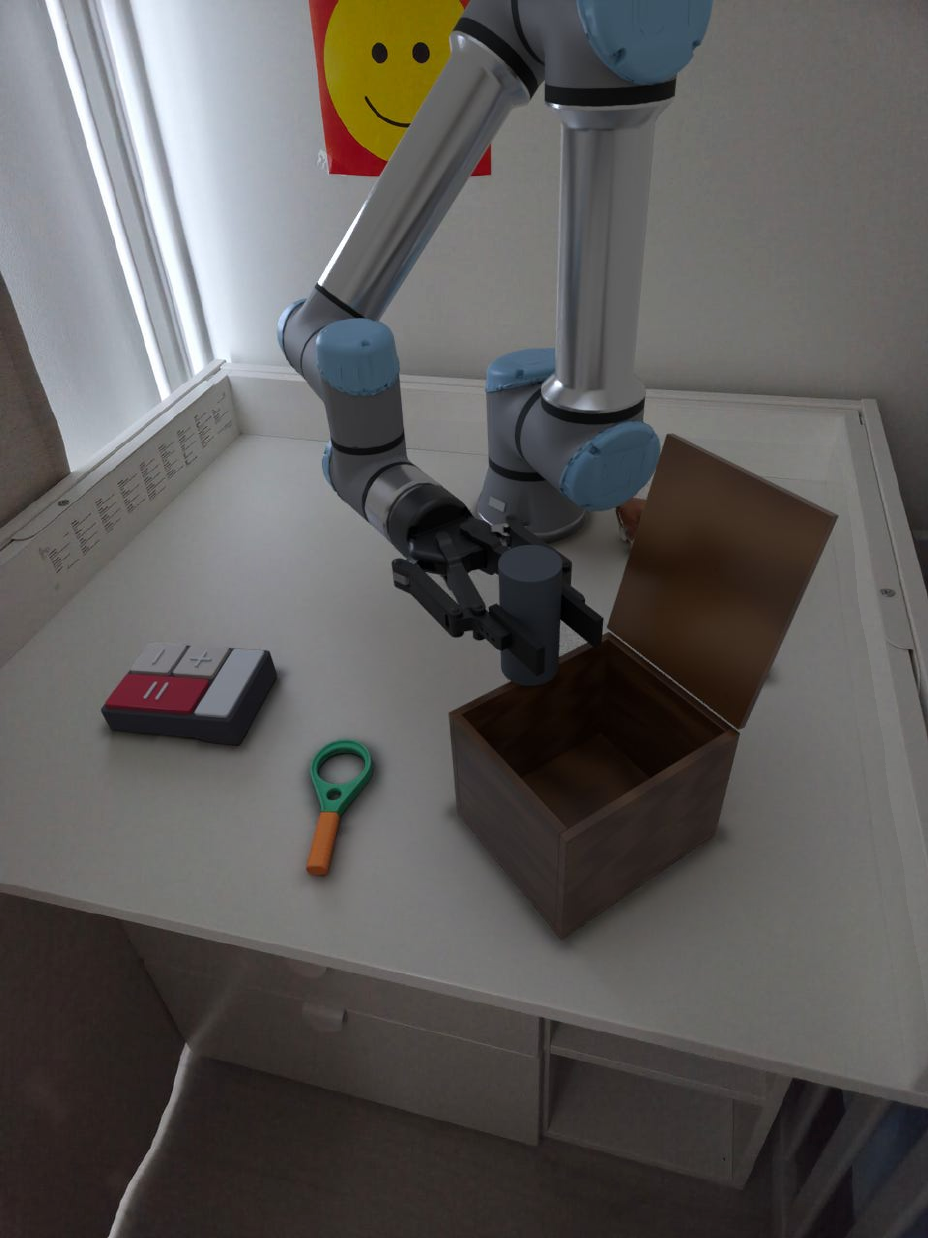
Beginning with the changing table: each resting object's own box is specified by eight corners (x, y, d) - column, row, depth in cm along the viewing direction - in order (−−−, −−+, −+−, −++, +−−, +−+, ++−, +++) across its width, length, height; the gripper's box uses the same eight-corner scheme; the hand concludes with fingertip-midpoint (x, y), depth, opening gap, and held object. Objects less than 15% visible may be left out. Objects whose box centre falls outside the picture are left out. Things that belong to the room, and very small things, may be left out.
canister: (535, 639, 73) (536, 537, 66) (570, 670, 70) (575, 566, 63) (489, 661, 71) (486, 558, 64) (523, 694, 68) (523, 589, 61)
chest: (561, 940, 66) (566, 841, 57) (456, 811, 76) (448, 712, 68) (715, 834, 73) (740, 733, 64) (600, 730, 83) (609, 631, 75)
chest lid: (832, 516, 54) (839, 515, 55) (666, 433, 65) (673, 433, 65) (738, 730, 64) (744, 728, 64) (606, 628, 74) (612, 626, 75)
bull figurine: (706, 576, 102) (716, 521, 97) (608, 547, 108) (612, 494, 103) (718, 558, 105) (728, 504, 100) (621, 531, 111) (626, 479, 106)
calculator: (147, 637, 92) (269, 644, 89) (160, 665, 95) (278, 673, 92) (95, 705, 84) (227, 716, 81) (110, 734, 87) (239, 745, 83)
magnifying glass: (319, 746, 83) (316, 735, 82) (377, 747, 83) (375, 736, 82) (284, 876, 71) (280, 865, 70) (352, 878, 71) (349, 867, 70)
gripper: (497, 520, 84) (652, 639, 69) (341, 582, 77) (475, 729, 62) (496, 456, 80) (662, 567, 64) (329, 514, 73) (471, 656, 57)
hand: (570, 646), depth 63 cm, fingers closed on canister, 5 cm apart
